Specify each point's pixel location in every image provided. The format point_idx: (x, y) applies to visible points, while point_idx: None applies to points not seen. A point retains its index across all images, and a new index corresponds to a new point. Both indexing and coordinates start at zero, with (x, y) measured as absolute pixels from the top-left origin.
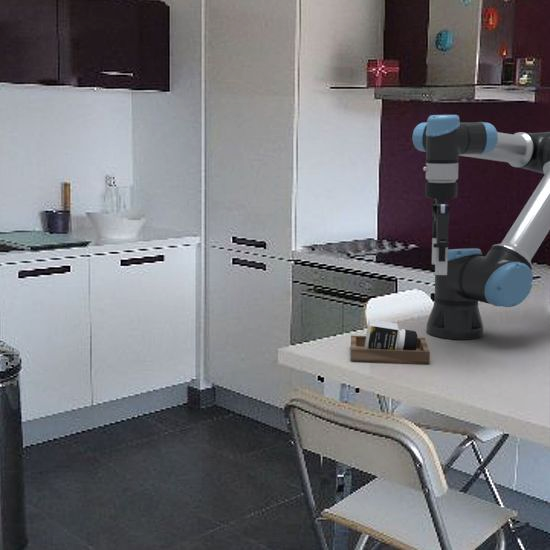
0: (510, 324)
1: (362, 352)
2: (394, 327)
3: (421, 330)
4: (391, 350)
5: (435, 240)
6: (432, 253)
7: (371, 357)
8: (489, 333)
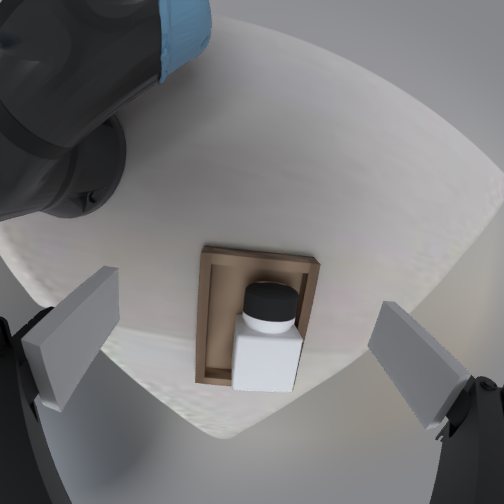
0: None
1: None
2: (284, 348)
3: (62, 223)
4: (303, 332)
5: (62, 388)
6: (99, 349)
7: None
8: None
